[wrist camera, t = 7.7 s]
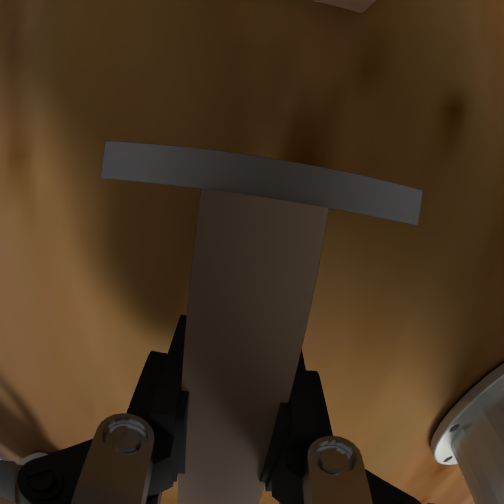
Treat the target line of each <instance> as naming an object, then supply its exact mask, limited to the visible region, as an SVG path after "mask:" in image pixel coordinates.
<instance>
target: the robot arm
mask: <svg viewBox="0 0 504 504" xmlns="http://www.w3.org/2000/svg"><path fill="white" fill-rule="evenodd" d="M186 318H187V316H186V315H181V316H180V319H179V322H178V324H177V327H176V330H175V333H174V336H173V339H172V342H171V345H170V348H169V351H168V354H167V353H161V352H156V351H151V352H150V353H149V355H148V358H147V360H146V363H145V366H144V368H143V371H142V373H141V376H140V378H139V381H138V384H137V386H136V389H135V392H134V394H133V397H132V400H131V402H130V405H129V408H128V410H127V413H126V414H125V413H121V414H114V415H112V416H109V417H107V418H106V419H104V420H103V421H102V422H101V423H100V425H99V426H98V428H97V430H96V433H95V435H94V438H93V439H91V440H88V441H85V442H83V443H80V444H77V445H74V446H72V447H69V448H66V449H63V450H60V451H57V452H54V453H51V454H48V455H45V456H42V457H39V458H36V459H32V460H30V461H28V462H26V463H25V464H24V465H17V464H16V462H15V461H5V460H0V504H160V501H161V495H162V492H163V491H165V490H167V489H169V488H171V487H172V486H173V482H174V481H175V482H176V481H177V475H178V473H181V474H185V457H186V437H187V419H188V403H189V392H188V391H182V390H181V387H182V371H183V356H184V343H185V330H186ZM430 448H431V451H432V454H433V457H434V459H435V460H436V461H437V462H438V463H440V464H447V465H451V464H458V465H459V467H460V469H461V471H462V474H463V476H464V478H465V480H466V483H467V485H468V487H469V490H470V492H471V494H472V497H473V499H474V502H475V504H504V363H503V364H502V365H500V366H499V367H497V368H496V369H495V370H493V371H492V372H491V373H490V374H488V375H487V376H486V377H484V378H483V379H482V380H481V381H480V382H479V383H477V384H476V385H475V386H474V387H473V388H472V389H471V390H470V391H469V392H468V393H466V394H465V395H464V396H463V397H462V398H461V399H460V400H459V401H458V402H457V404H456V405H455V406H454V407H453V408H452V409H451V410H450V411H449V412H448V414H447V415H446V416H445V418H444V419H443V420H442V422H441V423H440V425H439V426H438V428H437V430H436V431H435V433H434V435H433V438H432V440H431V447H430ZM259 481H260V482H265V487H266V491H272V497H274V498H275V499H276V500H277V501H279V502H280V503H279V504H421V503H420V502H419V501H418V500H417V499H415V498H414V497H412V496H410V495H409V494H407V493H405V492H403V491H401V490H400V489H398V488H396V487H394V486H393V485H391V484H389V483H388V482H386V481H384V480H382V479H381V478H379V477H377V476H376V475H374V474H372V473H371V472H369V471H368V470H366V469H365V467H364V463H363V459H362V455H361V453H360V451H359V449H358V448H357V447H356V446H355V444H353V443H352V442H350V441H349V440H347V439H345V438H342V437H338V436H333V434H332V429H331V424H330V420H329V416H328V411H327V407H326V402H325V398H324V394H323V389H322V385H321V381H320V377H319V374H318V372H317V371H307V370H306V369H305V364H304V358H303V353H302V348H301V353H300V357H299V361H298V365H297V370H296V374H295V378H294V382H293V386H292V390H291V394H290V398H289V401H288V403H282V402H280V406H279V410H278V414H277V418H276V422H275V426H274V429H273V433H272V437H271V441H270V444H269V448H268V452H267V455H266V459H265V463H264V466H263V470H262V473H261V477H260V480H259ZM427 504H434V503H427Z"/></svg>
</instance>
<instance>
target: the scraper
mask: <svg viewBox="0 0 504 504" xmlns="http://www.w3.org/2000/svg"><path fill="white" fill-rule="evenodd" d="M101 178H105V179H117V180H127V181H138V182H148V183H157V184H166V185H175V186H183V187H192V188H200V189H201V195H200V202H199V210H198V217H197V225H196V233H195V241H194V250H193V259H192V268H191V277H190V287H189V297H188V307H187V318H186V330H185V343H184V356H183V371H182V387H181V390H182V391H188V392H189V403H188V419H187V437H186V457H185V474H181V473H178V504H259V501H260V498H261V495H262V492H263V489H264V485H265V482H260V481H259V480H260V477H261V473H262V470H263V466H264V463H265V459H266V455H267V452H268V448H269V444H270V441H271V437H272V433H273V429H274V426H275V422H276V418H277V414H278V410H279V406H280V402H282V403H288V401H289V398H290V394H291V390H292V386H293V382H294V378H295V374H296V370H297V365H298V361H299V357H300V353H301V348H302V344H303V340H304V335H305V331H306V326H307V322H308V317H309V312H310V308H311V303H312V298H313V293H314V288H315V283H316V278H317V273H318V267H319V262H320V257H321V251H322V246H323V240H324V234H325V228H326V222H327V216H328V210H329V208H331V209H337V210H342V211H348V212H353V213H358V214H364V215H369V216H374V217H379V218H384V219H389V220H394V221H399V222H403V223H408V224H413V225H417V226H418V220H419V214H420V207H421V200H422V193H423V191H422V190H418V189H415V188H411V187H407V186H403V185H399V184H395V183H391V182H387V181H383V180H379V179H375V178H370V177H366V176H361V175H357V174H352V173H348V172H343V171H338V170H333V169H328V168H323V167H318V166H313V165H307V164H302V163H296V162H291V161H285V160H279V159H273V158H266V157H260V156H253V155H246V154H239V153H232V152H224V151H216V150H208V149H199V148H189V147H179V146H169V145H157V144H144V143H129V142H110V141H106V144H105V150H104V156H103V163H102V170H101ZM325 207H326V208H325Z"/></svg>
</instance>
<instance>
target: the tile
mask: <svg viewBox="0 0 504 504" xmlns="http://www.w3.org/2000/svg"><path fill="white" fill-rule="evenodd" d="M312 1H316V2H321V3H325V4H329V5H333V6H337V7H340V8H344V9H348V10H351V11H354V12H358V13H361V14H362V13H363V12H364V11H365V10H366V9H367V8H369V7H370V6H371V5H372V4H373V3H374V2H375V1H376V0H312Z"/></svg>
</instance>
